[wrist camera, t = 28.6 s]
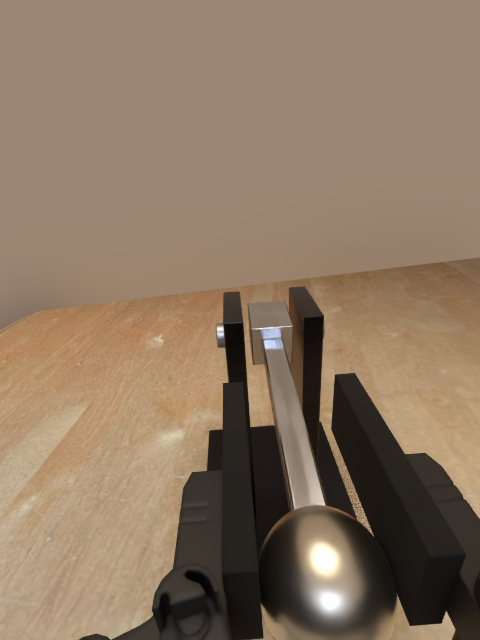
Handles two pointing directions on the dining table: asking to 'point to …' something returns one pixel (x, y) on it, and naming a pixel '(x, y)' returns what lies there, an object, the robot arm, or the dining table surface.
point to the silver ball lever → (313, 523)
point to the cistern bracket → (263, 439)
